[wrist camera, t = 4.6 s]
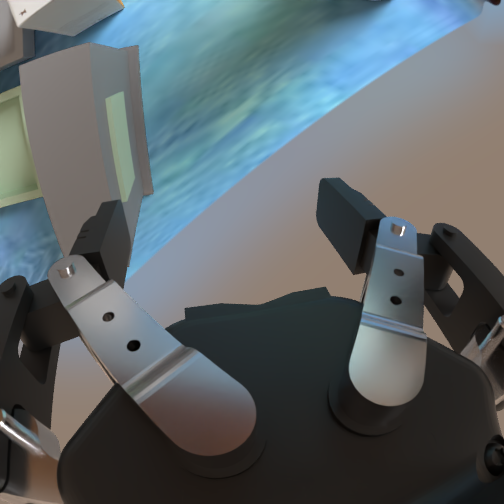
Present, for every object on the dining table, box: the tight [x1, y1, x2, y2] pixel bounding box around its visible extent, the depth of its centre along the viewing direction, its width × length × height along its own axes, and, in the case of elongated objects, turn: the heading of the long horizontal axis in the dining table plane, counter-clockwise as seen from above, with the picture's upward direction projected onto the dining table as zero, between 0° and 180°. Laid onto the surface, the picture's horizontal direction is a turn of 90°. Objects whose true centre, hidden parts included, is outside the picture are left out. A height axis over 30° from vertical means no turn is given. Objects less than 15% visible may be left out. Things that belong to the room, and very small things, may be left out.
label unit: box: [19, 42, 154, 267], centre depth 22 cm, size 7×17×15 cm, turn 1°
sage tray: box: [0, 85, 43, 208], centre depth 24 cm, size 11×13×3 cm
